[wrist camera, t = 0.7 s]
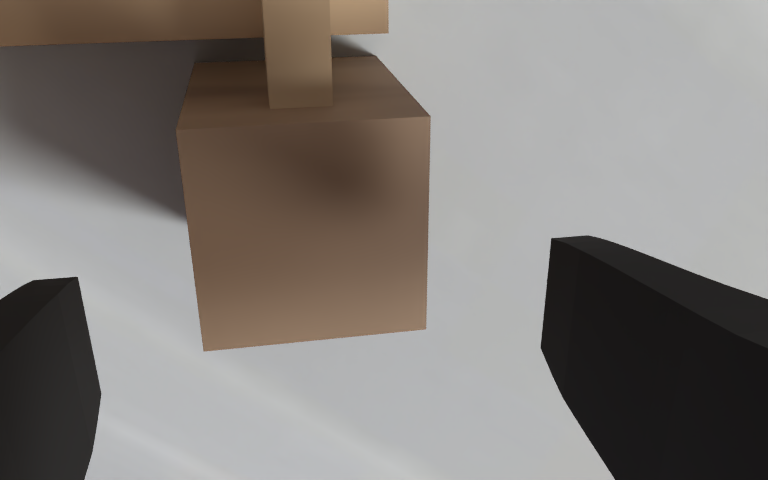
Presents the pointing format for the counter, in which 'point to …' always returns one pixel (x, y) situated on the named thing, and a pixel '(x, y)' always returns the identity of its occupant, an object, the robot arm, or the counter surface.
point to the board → (161, 20)
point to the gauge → (304, 190)
